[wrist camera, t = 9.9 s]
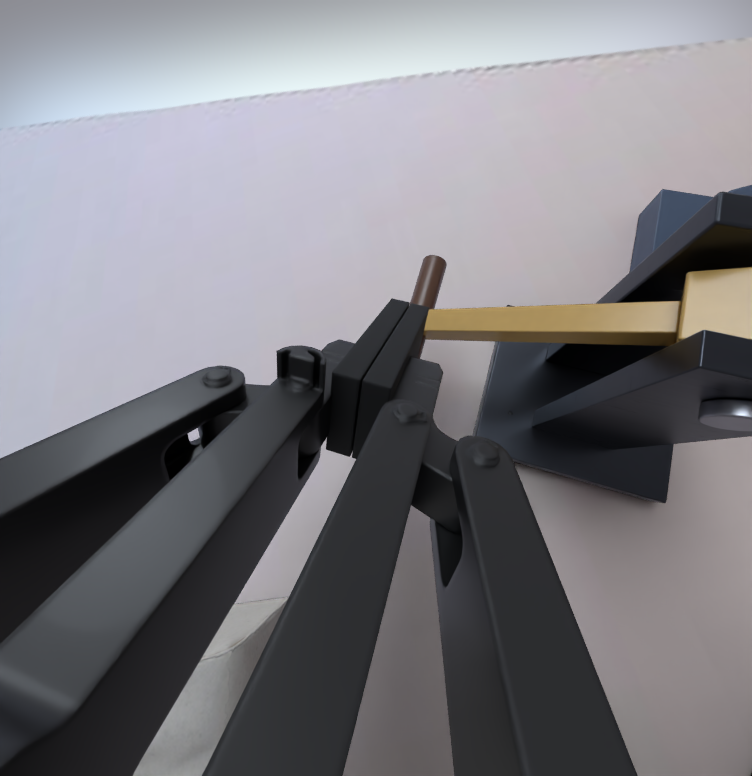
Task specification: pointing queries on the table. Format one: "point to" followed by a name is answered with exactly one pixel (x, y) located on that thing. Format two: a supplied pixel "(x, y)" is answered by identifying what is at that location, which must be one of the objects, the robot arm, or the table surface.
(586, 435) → the tap bracket
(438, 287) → the tap lever
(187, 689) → the box
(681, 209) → the button box
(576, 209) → the table surface
